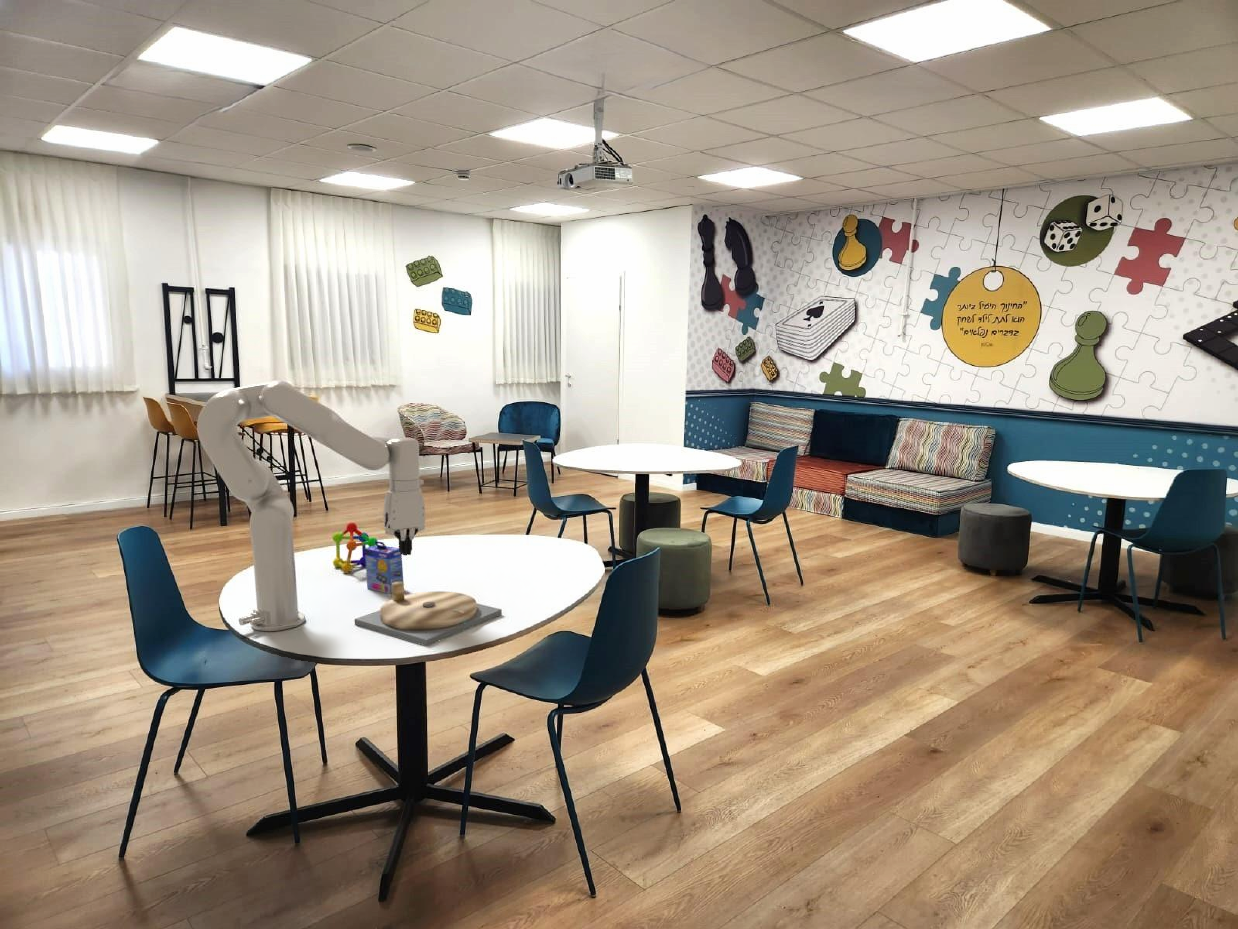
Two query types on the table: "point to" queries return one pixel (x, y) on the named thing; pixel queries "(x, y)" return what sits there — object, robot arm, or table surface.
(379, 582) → the ink cartridge box
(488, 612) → the base plate
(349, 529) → the educational toy
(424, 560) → the table surface
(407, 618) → the turntable
